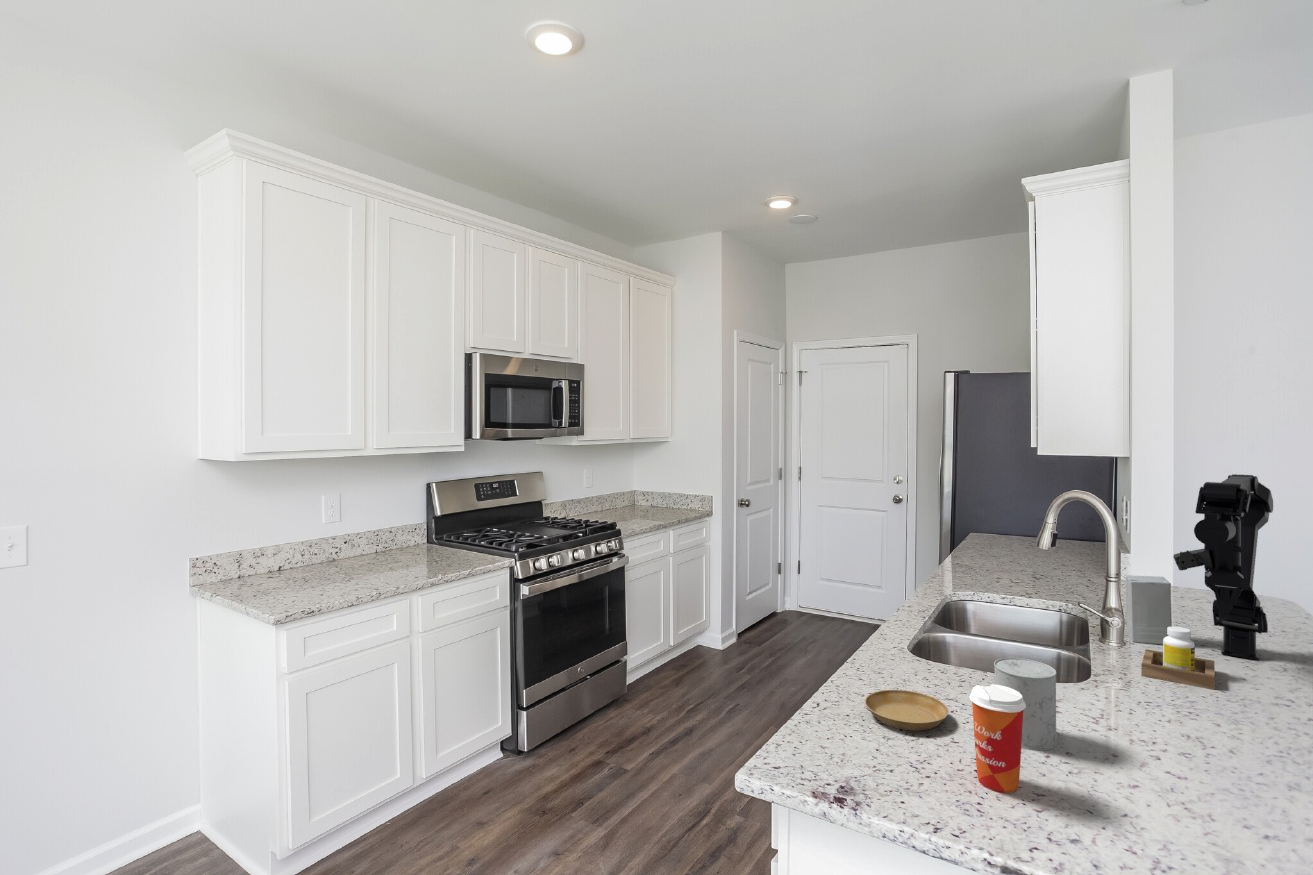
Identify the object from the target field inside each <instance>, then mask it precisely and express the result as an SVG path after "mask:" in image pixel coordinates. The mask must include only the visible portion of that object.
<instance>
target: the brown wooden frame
mask: <svg viewBox="0 0 1313 875" xmlns="http://www.w3.org/2000/svg"><path fill="white" fill-rule="evenodd" d="M1215 665H1216V664H1215V660H1213V659H1207V658H1201V657H1200V658H1199V657H1195V672H1193V671H1188V670H1182V669H1176V668H1171V667H1165V666H1163V651H1159V650H1153V649H1148V648H1146V649H1145V651H1144V653H1143V658H1142V661H1141V667H1140V668H1141V670H1140V672H1141V674H1140V675H1141V677H1145V678H1151V679H1155V680H1161V681H1166V682H1172V683H1176V684H1177V683H1178V684H1182V683H1183V685H1188V686H1192V685H1194V686H1193V687H1197V686H1199V687H1198V688H1202V689H1203V688H1204V689H1209V690H1212V691H1213V690H1215V689H1216V688H1215V687H1216V685H1215V681H1216V679H1215V678H1216V677H1215Z"/></svg>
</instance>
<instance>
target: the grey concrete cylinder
mask: <svg viewBox="0 0 1313 875" xmlns="http://www.w3.org/2000/svg"><path fill="white" fill-rule="evenodd" d="M993 665H994V685H1001V686H1005V687H1009V688H1011V689H1014V690H1016V691H1018V692H1019V693H1020V694H1021V695H1022V697H1023V701H1024V702H1025V704H1026V708H1025V709H1024V710H1023V726H1022V744H1021V749H1025V750H1030V751H1031V750H1032V751H1048V750H1052V749H1053V748H1055V747H1057V743H1058V742H1057V670H1056V669H1055V668H1054V667H1052V666H1051V665H1049V664H1046V663H1044V662H1040V661H1037V660H1034V659H1028V658H1021V657H1003V658H999V659H996V660H995V661H994V662H993Z"/></svg>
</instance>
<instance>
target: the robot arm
mask: <svg viewBox="0 0 1313 875" xmlns="http://www.w3.org/2000/svg"><path fill="white" fill-rule="evenodd" d="M1273 511H1274V499H1273V495H1272V491H1271V489H1270V488H1268V487H1267V486H1265V485H1264V484H1262V483H1261V482H1260V481H1259V479H1258V475H1257V476H1254V475H1253V474H1237V473H1235V474H1233V473H1232V474H1229V475H1228V476H1227V478H1225V479H1224V480H1223V481H1221V482H1215V481H1213V482H1211V481H1206V482H1205V483H1204V484H1203V485H1202V486H1200V487H1199V491H1198V495H1197V501H1196V508H1195V512H1194V513H1195V514H1197V515H1198V514H1199V515H1204V517H1203V519H1201V520H1199V521H1198V522H1197V523H1195V526H1194V528H1193V532H1194V533H1193V534H1194V536H1195V538H1196V540H1197V541H1199V542H1200V543H1202V544H1203V545H1204V546H1203V547H1204V548H1200V549H1193V550H1189V549H1188V550H1186V551H1180V552H1178V553H1174V554H1173V556H1172V557H1173V560H1174V562H1175V564H1176V565H1177V568H1178V571H1186V570H1188V569H1192V568H1198V567H1203V568H1204V571H1205V572H1204V585H1205V586H1206V588H1209V589H1210V591H1212V592H1213V593H1214V596H1215V599H1213V602H1212V615H1213V626H1216V627H1223V629H1222V630H1223V632H1222V633H1223V635H1222V636H1223V637H1222V639H1223V644H1221V645H1220V654H1221V655H1224V656H1230V657H1237V658H1244V659H1249V660H1255V661H1259V660H1260V656H1259V651H1258V650H1257V633H1258V634H1263V633H1264V634H1268V633H1269V628H1268V627H1269V625H1268V619H1267V618H1268V617H1267V614H1266V612H1264V609H1263V607H1262V606H1261V601H1260V599H1259V597H1258V596H1257V594H1256V593H1255V591H1254V590H1253V589H1254V578H1255V577H1254V576H1255V566H1256V556H1257V547H1258V539H1259V538H1258V537H1259V530H1260V529H1262V528H1263V527H1264V526H1265V525H1266V524H1267V523H1268V522H1269V518H1270V513H1273Z"/></svg>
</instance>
